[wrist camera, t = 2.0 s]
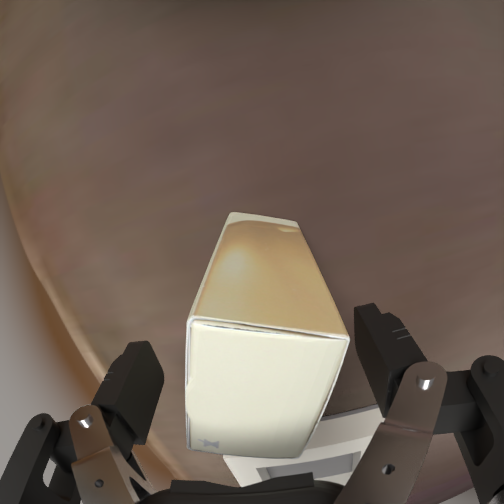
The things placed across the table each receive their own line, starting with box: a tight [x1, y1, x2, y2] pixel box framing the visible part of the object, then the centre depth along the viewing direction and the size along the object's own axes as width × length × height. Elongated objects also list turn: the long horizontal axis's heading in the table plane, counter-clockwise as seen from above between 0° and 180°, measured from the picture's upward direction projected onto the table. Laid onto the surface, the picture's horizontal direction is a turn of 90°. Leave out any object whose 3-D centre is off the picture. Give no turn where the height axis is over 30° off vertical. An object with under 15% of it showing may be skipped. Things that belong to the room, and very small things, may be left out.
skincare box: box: [185, 212, 350, 459], centre depth 14 cm, size 6×4×12 cm
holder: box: [223, 404, 385, 487], centre depth 27 cm, size 15×16×4 cm
